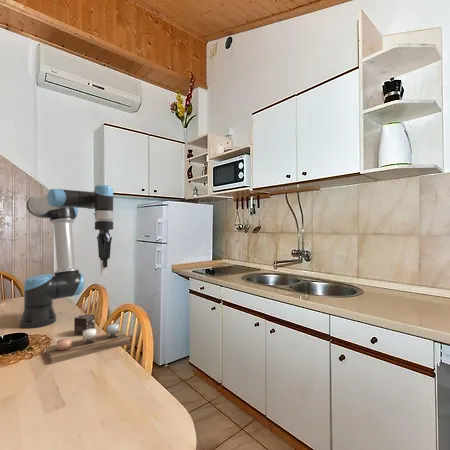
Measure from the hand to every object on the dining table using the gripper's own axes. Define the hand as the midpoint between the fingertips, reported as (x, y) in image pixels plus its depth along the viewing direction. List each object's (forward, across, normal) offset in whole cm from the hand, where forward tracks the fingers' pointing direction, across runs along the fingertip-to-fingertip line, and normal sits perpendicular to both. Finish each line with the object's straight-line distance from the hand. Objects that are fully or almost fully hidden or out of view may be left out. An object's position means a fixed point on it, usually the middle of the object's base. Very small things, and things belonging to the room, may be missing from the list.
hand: (104, 274), depth 131 cm
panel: (+26, +10, -9) cm, 30 cm away
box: (+27, -9, -6) cm, 29 cm away
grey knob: (+24, +10, 0) cm, 26 cm away
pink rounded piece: (+26, +11, -18) cm, 33 cm away
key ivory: (+24, +11, -9) cm, 28 cm away
